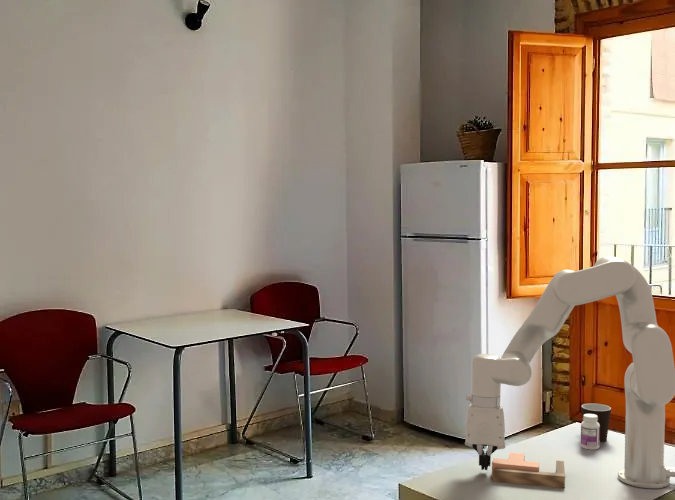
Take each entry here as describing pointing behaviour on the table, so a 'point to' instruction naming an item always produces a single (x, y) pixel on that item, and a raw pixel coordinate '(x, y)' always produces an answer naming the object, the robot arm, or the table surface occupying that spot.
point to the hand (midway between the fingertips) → (484, 468)
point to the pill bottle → (590, 432)
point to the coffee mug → (599, 417)
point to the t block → (515, 463)
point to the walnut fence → (532, 476)
